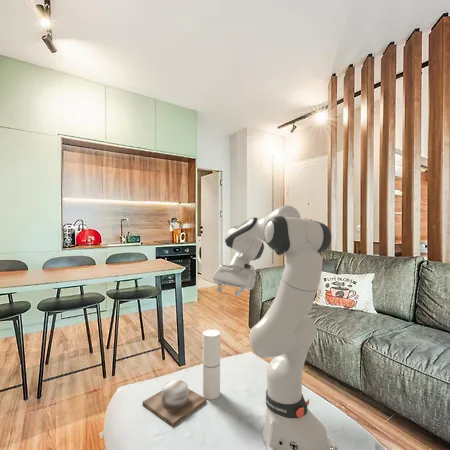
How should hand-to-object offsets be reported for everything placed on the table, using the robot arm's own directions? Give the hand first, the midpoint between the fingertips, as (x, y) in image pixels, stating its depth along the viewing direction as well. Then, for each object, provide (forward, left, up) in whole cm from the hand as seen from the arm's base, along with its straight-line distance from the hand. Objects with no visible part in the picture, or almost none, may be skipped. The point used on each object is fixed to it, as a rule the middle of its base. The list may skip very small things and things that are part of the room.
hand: (227, 293), depth 120 cm
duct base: (+7, +24, -39) cm, 47 cm away
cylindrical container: (0, +11, -39) cm, 41 cm away
